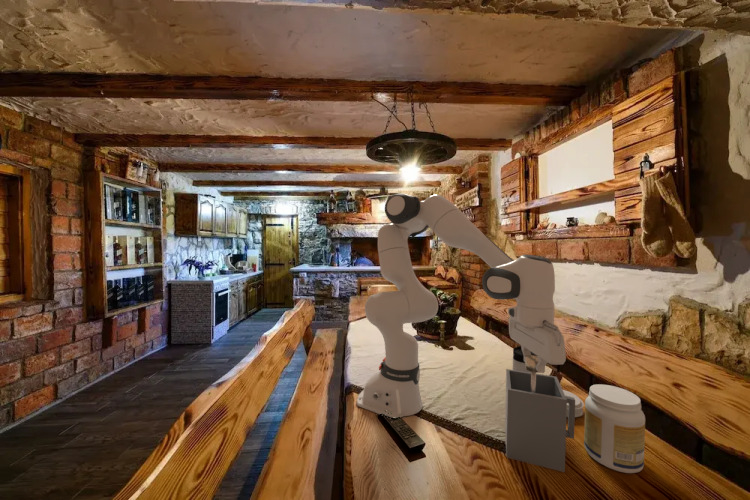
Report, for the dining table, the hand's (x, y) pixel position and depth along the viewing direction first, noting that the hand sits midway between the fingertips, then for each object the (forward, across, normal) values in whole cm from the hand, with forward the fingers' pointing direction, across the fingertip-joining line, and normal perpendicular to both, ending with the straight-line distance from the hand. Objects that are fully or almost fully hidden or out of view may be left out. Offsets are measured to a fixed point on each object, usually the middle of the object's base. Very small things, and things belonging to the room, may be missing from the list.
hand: (533, 367), depth 80 cm
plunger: (+20, 0, 0) cm, 20 cm away
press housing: (+22, -1, -1) cm, 22 cm away
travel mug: (+22, +19, -8) cm, 30 cm away
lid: (+23, +18, -20) cm, 36 cm away
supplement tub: (+23, -4, -19) cm, 30 cm away
